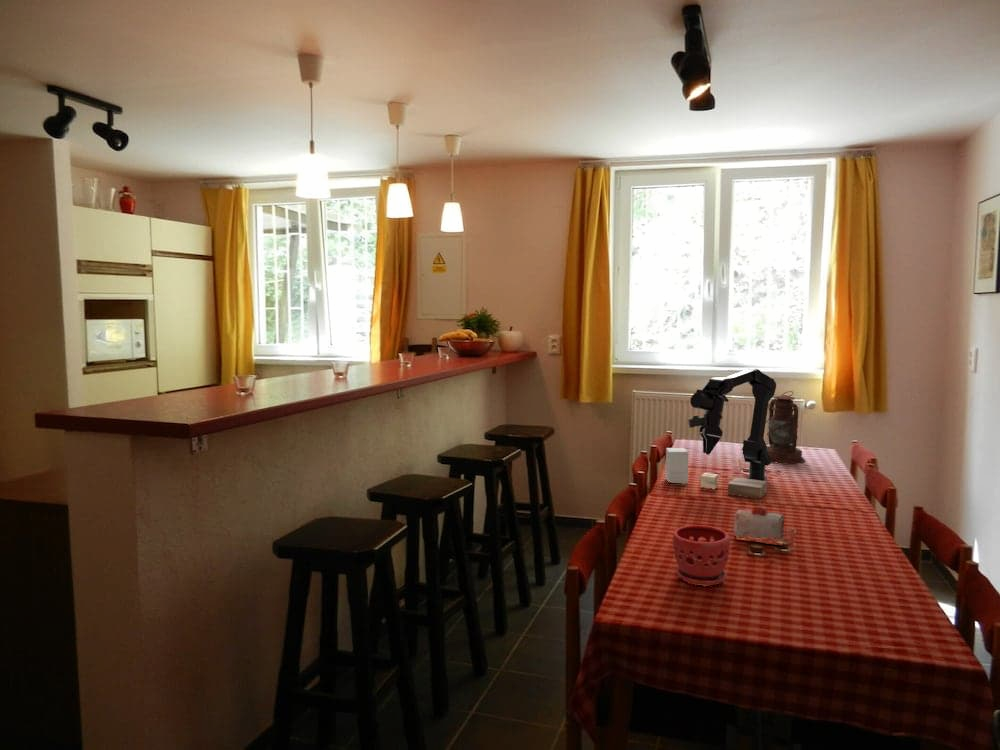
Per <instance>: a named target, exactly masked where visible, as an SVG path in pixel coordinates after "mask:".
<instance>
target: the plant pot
mask: <svg viewBox="0 0 1000 750" xmlns="http://www.w3.org/2000/svg"><path fill="white" fill-rule="evenodd" d="M672 535H673V536H672V540H673V541H672V545H673V552H674V557H675V561H676V564H677V566H678V568H676V574H677V576H678V577H679V578H680V577H681V578H682V579H684V580H686V581H689V582H693V583H697V584H705V585H706V584H707V585H709V584H710V585H712V584H718V583H721V582H722V583H723V582H724V581H725V580H726V578H727V573H726V571H725V569H726V568H727V565H728V564H727V563H728V560H729V555H730V535H729V533H728V532H727V531H725V530H724V529H721V528H719V527H715V526H711V525H704V524H703V525H699V524H693V525H685V526H684V525H683V526H681V527H677V528H676V529H674V531H673V534H672ZM691 537H693V539H692V540H691V539H690V538H691ZM702 537H703V538H704V539H705V541H699V539H700V538H702ZM711 537H712V538H713V541H711ZM681 578H680V579H681ZM682 579H681V580H682ZM722 583H721V584H722Z"/></svg>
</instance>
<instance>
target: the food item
mask: <svg viewBox="0 0 1000 750" xmlns="http://www.w3.org/2000/svg"><path fill="white" fill-rule="evenodd" d="M784 526H785V515H784V514H781V513H774V512H768V511H767V509H765V508H763V507H762V505H759V506H755V507H752V509H751V510H749V509H738V510H737V511H736V512H735V513H734V525H733V527H734V529H733V530H734V537H735V536H736V537H738V538H744V537H746V536H750V537H756V538H762V537H771V538H776V539H782V538H783V536H784V537H785V532H784ZM783 533H784V535H783Z"/></svg>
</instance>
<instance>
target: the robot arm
mask: <svg viewBox="0 0 1000 750" xmlns="http://www.w3.org/2000/svg"><path fill="white" fill-rule="evenodd" d="M745 383H748V384H749V385H750V386H751V392H752V395H753V397H754V405H753V412H752V413H753V414H752V418H751V419H752V420H751V424H750V425H751V426H750V433H749V437H748V438H747V439H743V442H742V448H741V451H742V455H743V460H744V462H745V463H749V472H748V473H749V474H748V475H747V476H746V479H747V478H748V479H754V480H761V481H764V480H765V481H766V480H767V478H768V476H766V466H770V465H771V460H772V459H771V458H770V456H769V455H768V453H767V446H768V445H767V444H766V441H765V439H764V438H765V430H766V429H765V428H766V424H767V422H766V421H767V416H768V411H769V404H770V402H771V401H770V400H771V399H772V398H774V397H775V393H776V389H777V382H776V380H775V379H774V378H771V377H770V376H769V375H767V374H765V373H764V372H762V371H761V370H760V369H757V368H751V367H748V368H746V369H743V370H741V371H739V372H736V373H734V374H731V375H728V376H717V377H711V378H710V379H709V380H708V382H707V383H706V385H704V387H703V388H702V389H698V388H697V389H696V392H694V393H693V395H691V397H690V401H689V402H690V406H691V407H692V408H694V409H699V410H704V411H705V412H704V413H703V416H700V417H699V416H698V415H693V416H692V418H688V419H687V421H688V427H689V428H690V429H691V428H695V427H699V429H698V432H699V435H700V436H701V438H702V453H703V454H706V456H707V455H708V456H710V454H711V453H712V451H713V450H714V449H715V447H716V446H717V444H718V443H719V441H720V440H721V437H723V430H722V429H721V426H720V425H721V421H722V419H723V411H724V410H723V409H724V405H725V402H726V403H728V402H729V399H728V398H727V396H726V395H728V394H729V393H731V392H732V391H733V390H734V389H735V387H738V386H740V385H743V384H745Z"/></svg>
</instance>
